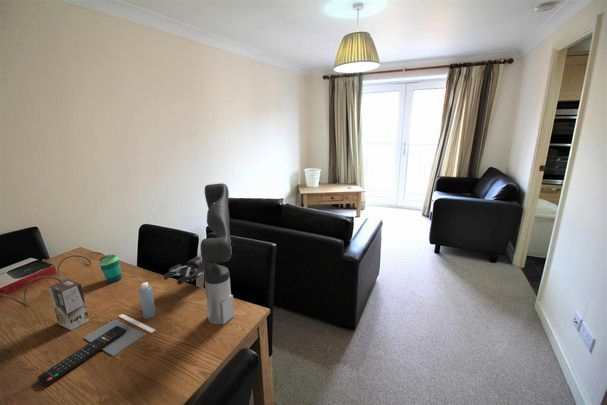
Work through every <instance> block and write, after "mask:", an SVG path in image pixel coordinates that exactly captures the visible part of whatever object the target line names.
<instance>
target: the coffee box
mask: <svg viewBox="0 0 607 405" xmlns="http://www.w3.org/2000/svg"><path fill="white" fill-rule="evenodd" d="M48 291H49V294H50V298H51V302H52V305H53V309H54V312H55V316H56V319H57V323H58V324H59V325H60V326H61V327H62V326H63V327H64V328H66V329H68V330H69V331H73V330H75V329H77V328H78V327H80V326H82V325H84V324H85V323H87V322H89V321H90V319H89V315H88V309H87V306H86V301H85V297H84V296H85V295H84V292H83V288H82V284H81V283H80V282H77V281H75V280H73V279H69V278H66V279H63V280H61V281H59V282H56V283H55V284H53V285H50V286H48ZM58 324H57V325H58Z"/></svg>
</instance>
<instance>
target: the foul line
mask: <svg viewBox="0 0 607 405" xmlns="http://www.w3.org/2000/svg"><path fill="white" fill-rule="evenodd" d="M118 317H119V318H120V319H122V320H125V321H127V322H128V323H131V324H132V325H135V326H137V327H139V328H141V329H143V330H144V331H147V332H149V333H151V334H152V333H154V332H155V331H156V329H155V328H154V327H153V328H152V327H151V326H148V325H146V324H144V323H142V322H140V321H138V320H136V319H134V318H132V317H130V316H128V315H125V314H123V313H122V314H119V315H118Z"/></svg>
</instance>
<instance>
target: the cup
mask: <svg viewBox="0 0 607 405" xmlns="http://www.w3.org/2000/svg"><path fill="white" fill-rule="evenodd" d="M98 266H99V267H100V268H101V272H102V273H103V275H104V278H105V279H106V280H107V282H108V283H110V284H111V283H116V282H119V281H121V279H122V277H123V276H122V270H121V269H122V268H121V265H120V261H119V257H118V256H117V255H115V254H108V255H104V256H102V257H100V258H99V262H98Z"/></svg>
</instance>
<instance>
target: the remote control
mask: <svg viewBox="0 0 607 405" xmlns="http://www.w3.org/2000/svg"><path fill="white" fill-rule="evenodd" d="M125 332H126V329H124V328H121V327H119V326H115V327H114V328H112V329H110V330H109V331H107V332H106V333H104V334H103V335H101V336H100V337H98V338H97V339H95V340H93V341H92V342H89V343H87V344H85V345H84V346H83V347H81V348H79V349H78V350H77V351H75V352H74V353H72V354H71V355H69V356H67V357H65V358H63V360H61V361H59V362H58V363H57V364H55V365H53V366H51V367H50V368H49V369H47V370H45V371H44V372H42V373H41V374H39V375H38V376H37V381H38V382H39V384H40V385H41V386H43V387H46V386H50V384H52V383H53V382H55V381H56V380H58V379H59V378H60V377H62V376H63V375H66V373H68V372H69V371H71V370H72V369H73V368H75V367H77V366H78V365H79V364H81V363H82V362H84V361H86V360H87V359H88V358H90V357H91V356H92V355H94V354H95V353H97V352H98V351H101V350H102V349H101V348H103V347H104V346H106V345H107V344H109V343H110V342H112V341H113V340H115V339H116V338H117V337H119V336H120V335H122V334H123V333H125Z"/></svg>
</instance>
